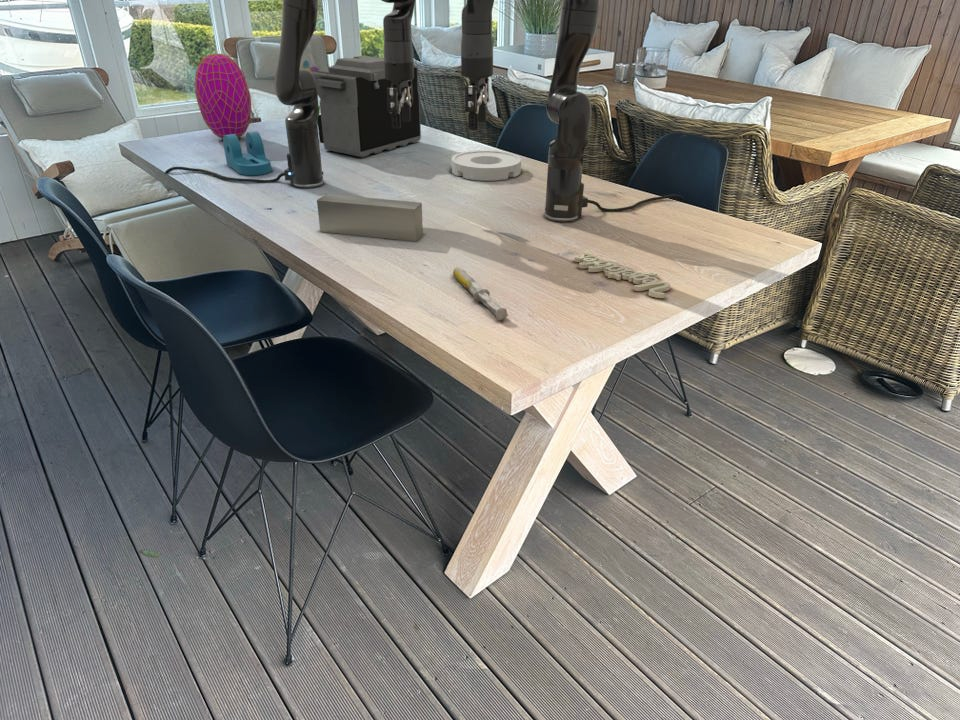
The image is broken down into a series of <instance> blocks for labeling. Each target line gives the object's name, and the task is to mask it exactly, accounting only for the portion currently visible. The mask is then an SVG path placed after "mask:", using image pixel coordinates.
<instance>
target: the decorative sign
mask: <svg viewBox="0 0 960 720" xmlns="http://www.w3.org/2000/svg"><path fill="white" fill-rule="evenodd" d="M574 262H575V263H578V269H588V270H587V272H588V273H598V272H603V273H604V276H606V277H607V278H608V279H614V280H617V281H621V279H622V280H627V281H628V282H630V283H633V284H634V285H633V291H636V292H643V291H647V290H648V293H647V294H648V296H649V297H652V298H656V299H664V298H665V295H666V292H668V291H669V290H670V289H671V283H670V282H668V281H659V279H658V272H657V271H648V272H639V271H637V270H634V269H630V268H628V267H627V266H626V267H625V266H624V265H619V264H618V263H615V262H611V261H610V260H604V258H601V257H598V256H596V255H592V254H590V253H587V252H586V253H582V254H581V255H580V256H578V255H575V256H574Z"/></svg>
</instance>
